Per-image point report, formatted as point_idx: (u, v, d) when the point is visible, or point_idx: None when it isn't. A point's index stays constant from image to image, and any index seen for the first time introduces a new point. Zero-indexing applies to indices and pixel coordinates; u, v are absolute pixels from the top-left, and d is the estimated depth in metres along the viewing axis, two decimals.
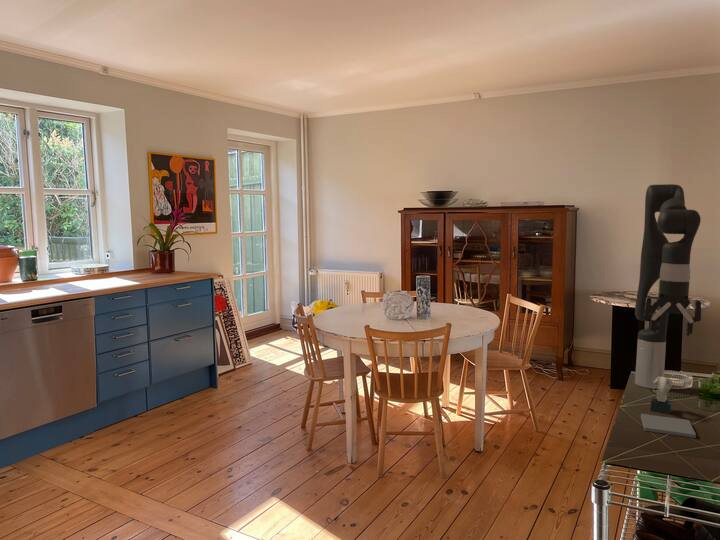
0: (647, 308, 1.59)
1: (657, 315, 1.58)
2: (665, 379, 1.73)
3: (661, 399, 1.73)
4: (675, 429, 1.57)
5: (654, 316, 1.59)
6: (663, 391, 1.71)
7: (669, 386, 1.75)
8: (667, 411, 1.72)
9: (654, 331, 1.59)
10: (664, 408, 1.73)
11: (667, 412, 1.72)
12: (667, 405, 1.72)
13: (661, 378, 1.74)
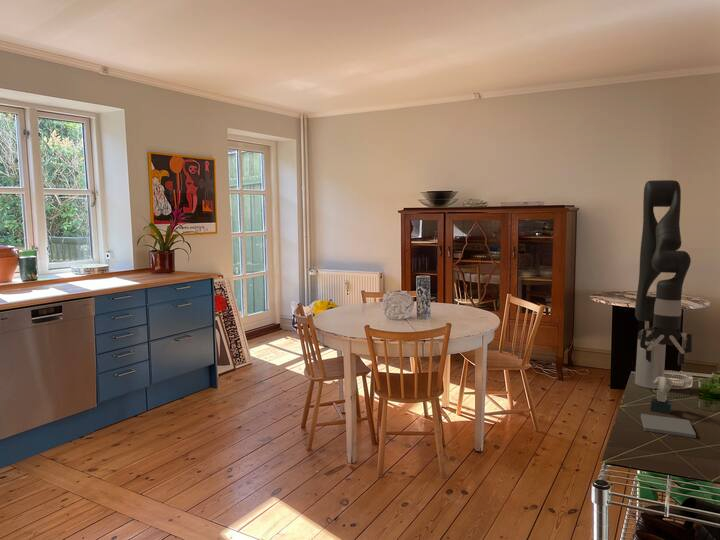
0: (643, 339, 1.74)
1: (651, 346, 1.74)
2: (665, 379, 1.73)
3: (661, 399, 1.73)
4: (675, 429, 1.57)
5: (649, 347, 1.74)
6: (663, 391, 1.71)
7: (669, 386, 1.75)
8: (667, 411, 1.72)
9: (649, 360, 1.74)
10: (664, 408, 1.73)
11: (667, 412, 1.72)
12: (667, 405, 1.72)
13: (661, 378, 1.74)
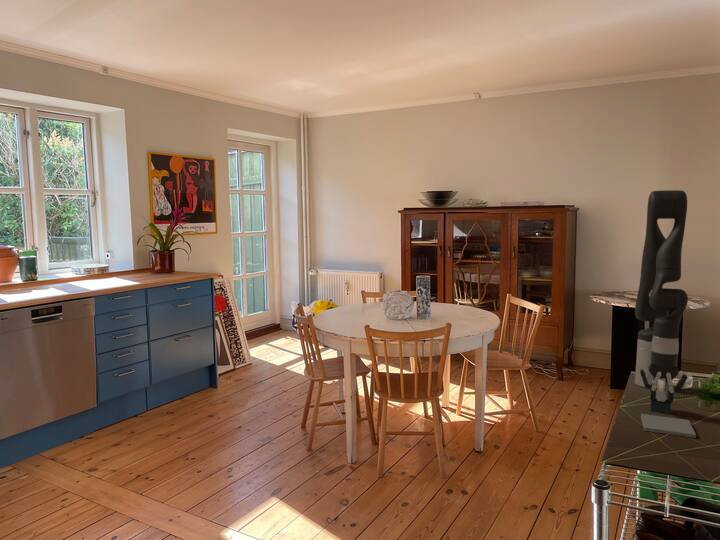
0: (644, 380, 1.75)
1: (654, 386, 1.74)
2: (664, 378, 1.73)
3: (661, 399, 1.73)
4: (675, 429, 1.57)
5: (653, 387, 1.75)
6: (662, 391, 1.71)
7: None
8: (667, 410, 1.72)
9: (653, 400, 1.75)
10: (664, 408, 1.73)
11: (667, 411, 1.72)
12: (667, 404, 1.72)
13: (660, 378, 1.74)
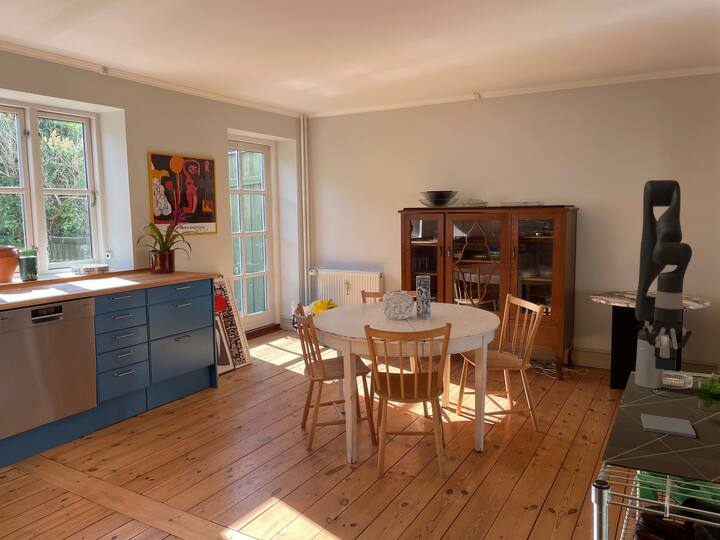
0: (648, 336, 1.73)
1: (659, 342, 1.72)
2: (667, 335, 1.70)
3: (665, 355, 1.70)
4: (675, 429, 1.57)
5: (658, 344, 1.72)
6: (667, 346, 1.68)
7: None
8: (672, 366, 1.69)
9: (658, 357, 1.72)
10: (669, 364, 1.70)
11: (672, 368, 1.70)
12: (672, 361, 1.69)
13: None
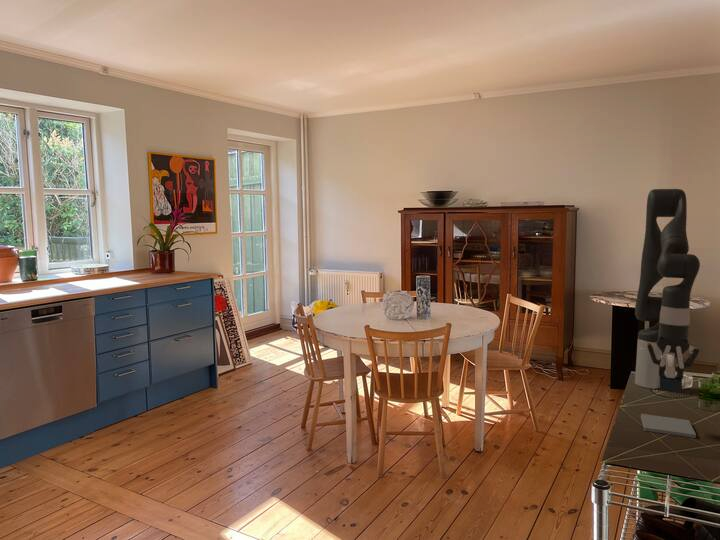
0: (652, 355, 1.60)
1: (663, 361, 1.59)
2: (673, 353, 1.58)
3: (671, 375, 1.58)
4: (675, 429, 1.57)
5: (662, 362, 1.60)
6: (672, 366, 1.56)
7: None
8: (678, 387, 1.57)
9: (662, 377, 1.60)
10: (675, 385, 1.58)
11: (678, 389, 1.57)
12: (678, 381, 1.57)
13: None
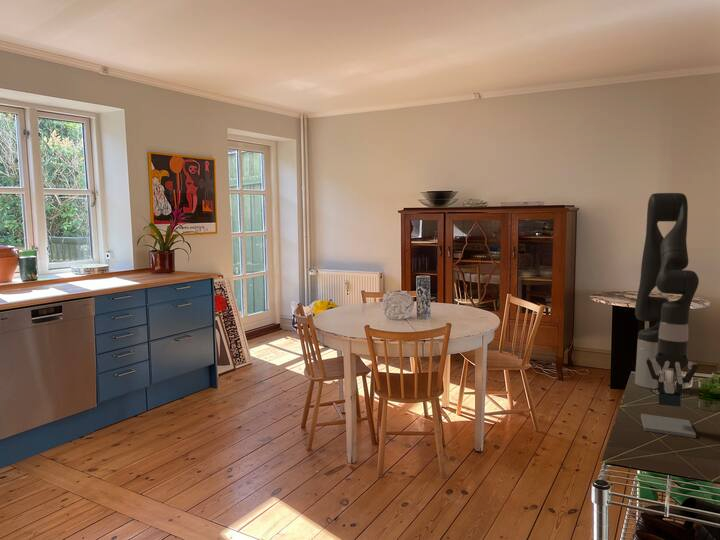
0: (651, 370, 1.61)
1: (662, 376, 1.60)
2: (672, 368, 1.59)
3: (669, 391, 1.58)
4: (675, 429, 1.57)
5: (661, 378, 1.60)
6: (671, 382, 1.57)
7: None
8: (677, 403, 1.58)
9: (661, 392, 1.60)
10: (673, 400, 1.58)
11: (677, 404, 1.58)
12: (676, 397, 1.58)
13: None
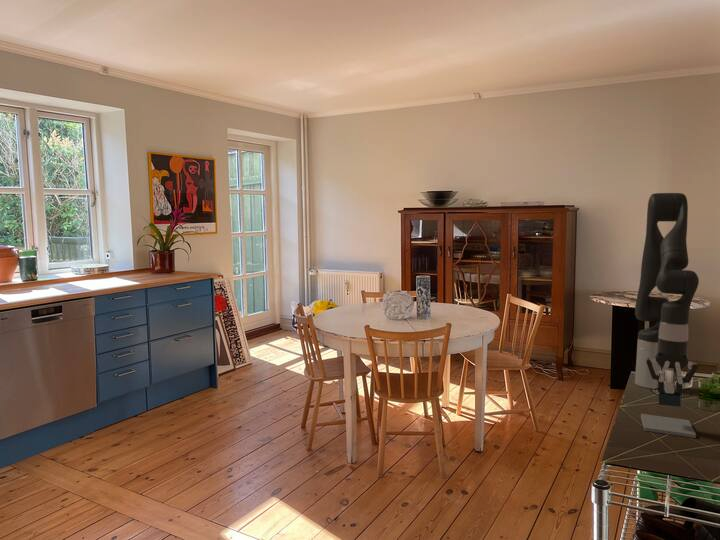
0: (651, 370, 1.61)
1: (662, 376, 1.60)
2: (672, 368, 1.59)
3: (669, 391, 1.58)
4: (675, 429, 1.57)
5: (661, 378, 1.60)
6: (671, 382, 1.57)
7: None
8: (677, 403, 1.58)
9: (661, 392, 1.60)
10: (673, 400, 1.58)
11: (677, 404, 1.58)
12: (676, 397, 1.58)
13: None
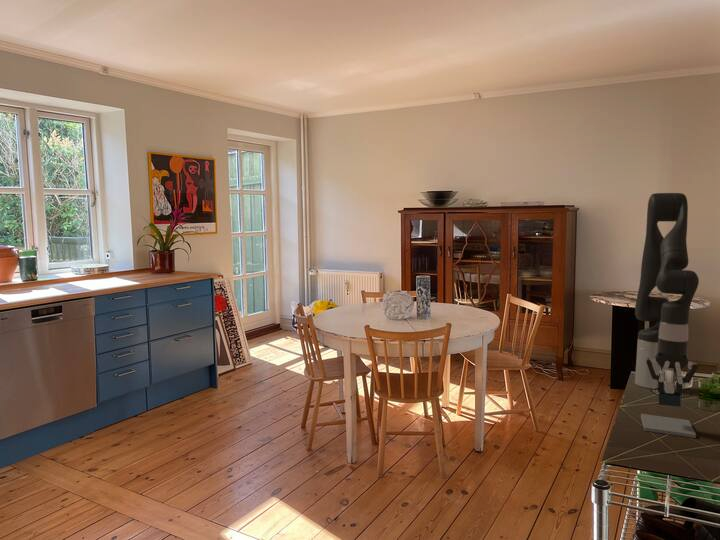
0: (651, 370, 1.61)
1: (662, 376, 1.60)
2: (672, 368, 1.59)
3: (669, 391, 1.58)
4: (675, 429, 1.57)
5: (661, 378, 1.60)
6: (671, 382, 1.57)
7: None
8: (677, 403, 1.58)
9: (661, 392, 1.60)
10: (673, 400, 1.58)
11: (677, 404, 1.58)
12: (676, 397, 1.58)
13: None
